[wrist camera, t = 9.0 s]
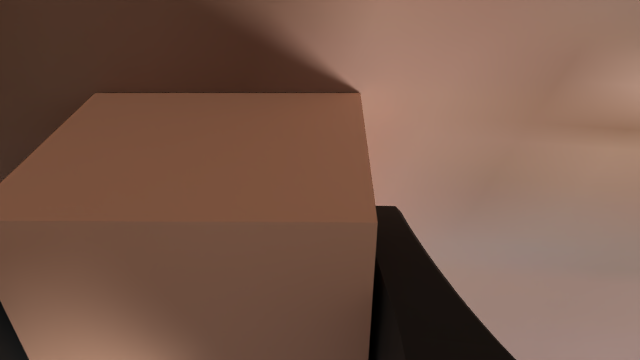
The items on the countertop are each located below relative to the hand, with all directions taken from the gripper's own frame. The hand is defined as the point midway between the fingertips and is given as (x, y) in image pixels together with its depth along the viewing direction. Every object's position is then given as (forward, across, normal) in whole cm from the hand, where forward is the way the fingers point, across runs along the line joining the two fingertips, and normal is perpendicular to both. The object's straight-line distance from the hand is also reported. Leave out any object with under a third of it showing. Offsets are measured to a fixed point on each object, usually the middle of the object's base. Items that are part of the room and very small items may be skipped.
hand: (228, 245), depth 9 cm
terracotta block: (+1, 0, 0) cm, 1 cm away
